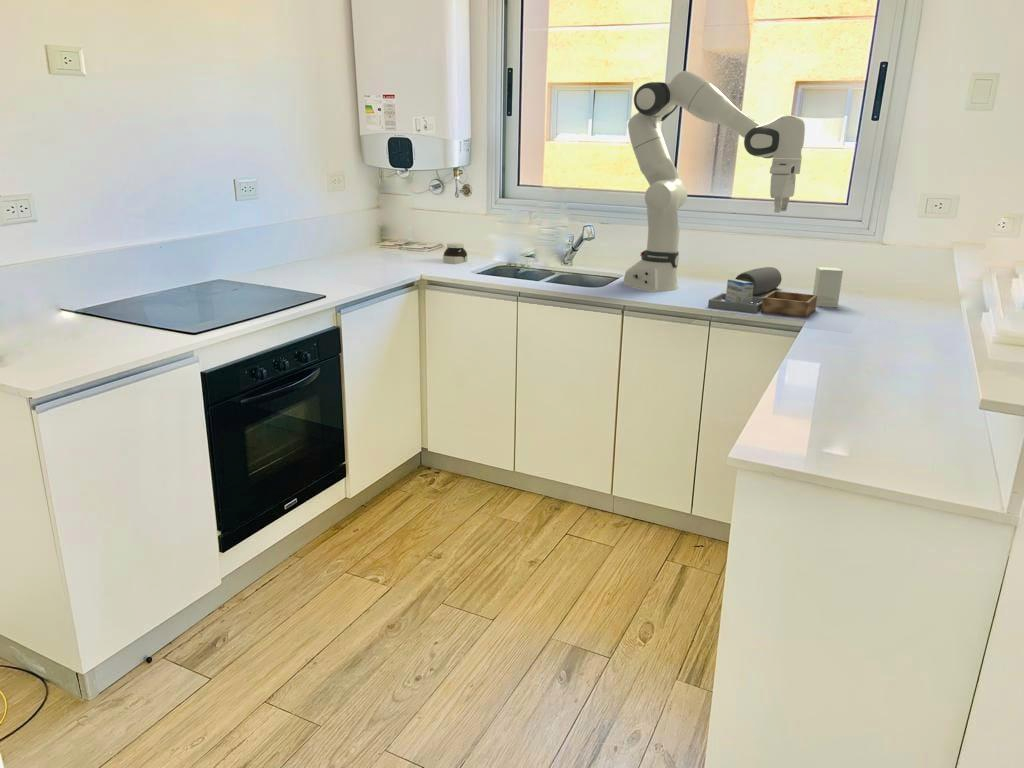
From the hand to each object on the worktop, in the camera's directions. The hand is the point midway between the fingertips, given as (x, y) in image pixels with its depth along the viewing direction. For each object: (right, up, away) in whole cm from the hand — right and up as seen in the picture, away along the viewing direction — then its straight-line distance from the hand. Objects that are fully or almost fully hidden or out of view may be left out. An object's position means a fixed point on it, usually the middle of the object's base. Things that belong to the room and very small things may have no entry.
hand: (780, 211), depth 247 cm
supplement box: (+19, -30, +11) cm, 37 cm away
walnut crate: (+2, -33, -1) cm, 33 cm away
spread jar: (-113, -10, +65) cm, 131 cm away
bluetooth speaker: (+1, -25, +26) cm, 36 cm away
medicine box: (-12, -31, +6) cm, 34 cm away
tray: (-12, -31, +6) cm, 33 cm away
